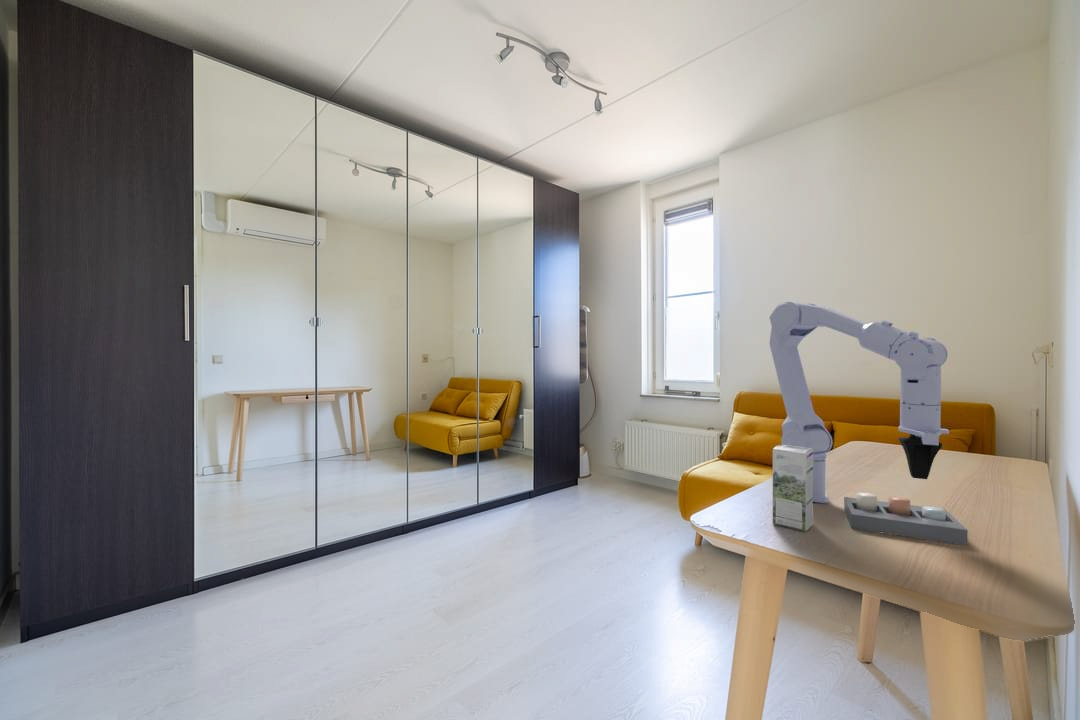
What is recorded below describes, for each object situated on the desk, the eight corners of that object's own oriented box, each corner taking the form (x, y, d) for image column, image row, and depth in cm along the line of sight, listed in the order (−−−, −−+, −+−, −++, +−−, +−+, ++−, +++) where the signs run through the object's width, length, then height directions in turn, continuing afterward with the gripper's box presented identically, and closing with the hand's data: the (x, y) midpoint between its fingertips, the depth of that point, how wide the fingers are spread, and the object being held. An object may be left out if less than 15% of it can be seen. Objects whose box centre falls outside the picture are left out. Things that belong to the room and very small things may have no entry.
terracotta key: (890, 514, 84) (890, 499, 84) (886, 509, 87) (886, 495, 87) (912, 517, 82) (912, 502, 82) (908, 512, 85) (908, 497, 85)
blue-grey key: (924, 525, 82) (925, 510, 82) (920, 519, 84) (920, 505, 84) (948, 528, 80) (948, 513, 80) (942, 522, 83) (942, 508, 83)
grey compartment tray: (851, 528, 83) (851, 514, 83) (844, 509, 94) (844, 496, 94) (967, 545, 76) (967, 530, 76) (945, 522, 86) (945, 509, 86)
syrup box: (813, 524, 85) (814, 447, 85) (805, 533, 81) (806, 451, 81) (780, 517, 89) (780, 443, 89) (771, 524, 85) (771, 447, 85)
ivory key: (857, 510, 86) (857, 495, 86) (855, 505, 89) (855, 491, 89) (878, 512, 85) (878, 498, 85) (875, 507, 88) (875, 494, 88)
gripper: (962, 409, 75) (961, 491, 75) (936, 401, 88) (935, 471, 88) (908, 406, 78) (907, 485, 78) (890, 399, 91) (890, 467, 91)
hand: (919, 477), depth 83 cm, fingers closed
